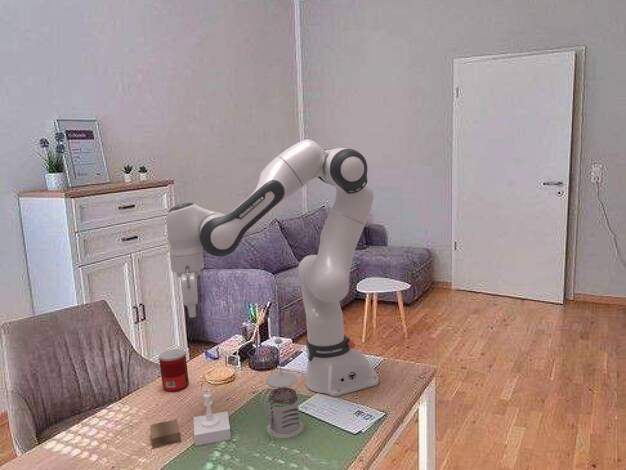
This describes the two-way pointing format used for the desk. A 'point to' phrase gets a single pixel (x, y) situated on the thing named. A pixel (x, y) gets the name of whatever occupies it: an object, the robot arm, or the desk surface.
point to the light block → (212, 430)
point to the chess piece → (209, 412)
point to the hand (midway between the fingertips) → (192, 311)
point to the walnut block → (165, 433)
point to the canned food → (174, 370)
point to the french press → (288, 421)
